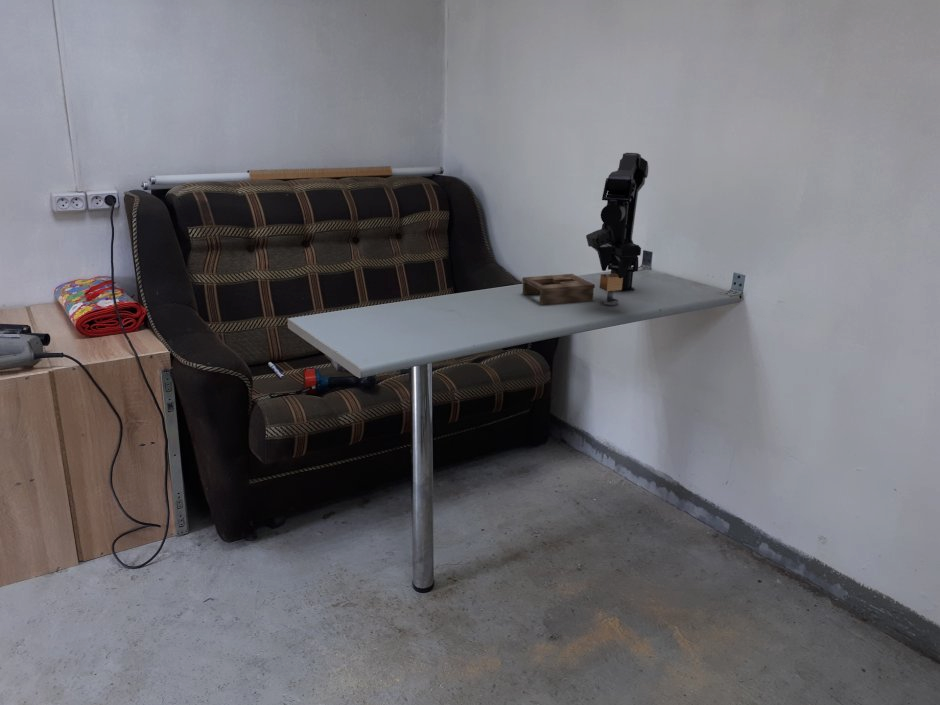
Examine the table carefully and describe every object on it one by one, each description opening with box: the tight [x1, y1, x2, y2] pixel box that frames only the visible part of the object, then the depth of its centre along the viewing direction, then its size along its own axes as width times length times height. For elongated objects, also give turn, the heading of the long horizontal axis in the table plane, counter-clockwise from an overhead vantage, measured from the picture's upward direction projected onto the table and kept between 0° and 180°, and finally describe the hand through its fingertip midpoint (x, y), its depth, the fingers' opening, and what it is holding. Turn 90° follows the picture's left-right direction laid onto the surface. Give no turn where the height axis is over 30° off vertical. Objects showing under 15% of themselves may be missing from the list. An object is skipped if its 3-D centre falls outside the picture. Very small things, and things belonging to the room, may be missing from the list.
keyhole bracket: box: [521, 273, 596, 306], centre depth 215 cm, size 17×14×5 cm
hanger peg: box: [599, 273, 623, 307], centre depth 208 cm, size 5×5×8 cm
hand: (611, 274), depth 207 cm, fingers open, 9 cm apart
